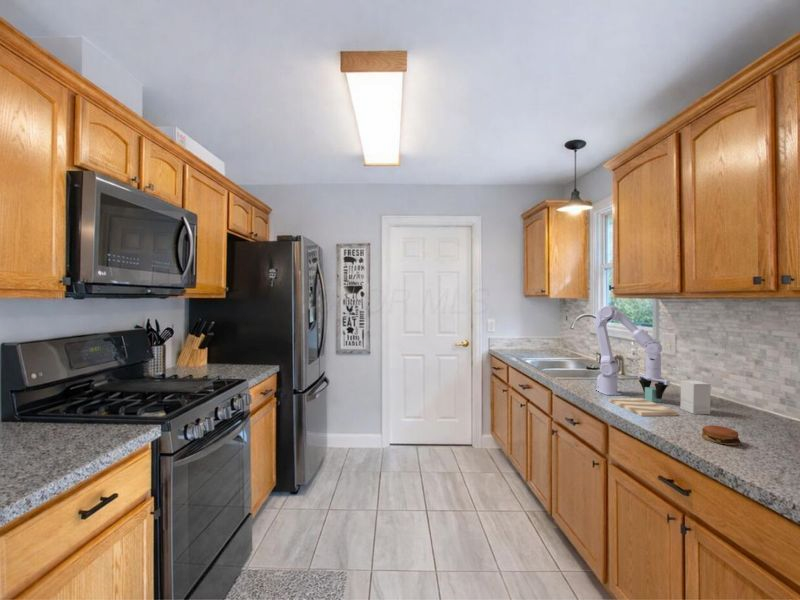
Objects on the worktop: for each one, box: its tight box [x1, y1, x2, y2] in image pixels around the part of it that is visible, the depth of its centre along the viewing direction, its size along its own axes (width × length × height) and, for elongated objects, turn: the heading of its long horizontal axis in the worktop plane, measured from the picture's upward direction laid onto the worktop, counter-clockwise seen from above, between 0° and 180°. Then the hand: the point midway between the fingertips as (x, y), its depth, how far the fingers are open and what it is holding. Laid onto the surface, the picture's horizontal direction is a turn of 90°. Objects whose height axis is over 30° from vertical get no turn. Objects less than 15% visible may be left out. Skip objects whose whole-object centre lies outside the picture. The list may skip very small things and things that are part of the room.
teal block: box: [644, 386, 662, 403], centre depth 170 cm, size 4×4×6 cm
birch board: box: [608, 397, 679, 417], centre depth 158 cm, size 20×16×2 cm
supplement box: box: [679, 379, 712, 415], centre depth 155 cm, size 7×7×13 cm
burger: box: [701, 424, 741, 446], centre depth 122 cm, size 10×9×5 cm
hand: (652, 396), depth 170 cm, fingers open, 6 cm apart
